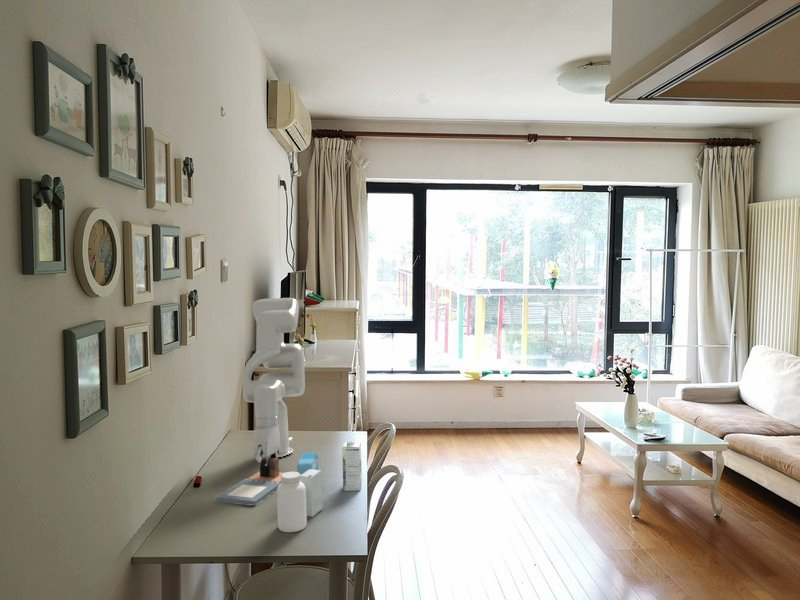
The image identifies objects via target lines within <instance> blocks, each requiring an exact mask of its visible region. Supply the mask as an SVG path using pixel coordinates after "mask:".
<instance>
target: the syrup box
mask: <svg viewBox="0 0 800 600" xmlns="http://www.w3.org/2000/svg"><path fill="white" fill-rule="evenodd" d="M341 449H342V486H343V487H342V490H343V492H354V491H362V484H363V479H362V478H363V477H362V474H363V473H362V442H360V441H346V442H343V445H342V448H341Z"/></svg>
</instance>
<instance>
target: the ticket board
mask: <svg viewBox="0 0 800 600" xmlns="http://www.w3.org/2000/svg"><path fill="white" fill-rule="evenodd" d="M280 484H281V482H273V481H263V480H253V479H248V478H243V479H242V480H240V481H239V482H237V483H236V484H234V485H232V486H231V487H230V488H228V489H226V490H225V491H223V492H222V493H220V494H218V495H217V496H216V497H215V499H216V502H217V503H223V504H233V503H239V504H238V505H242V504H253V505H256V504H257V503H259V502H260V501H261V500H263V499H264V498H266V497H267V496H268V495H270V494H271V493H272V492H274V491H275V490H277V488H278V486H279V485H280ZM275 492H276V491H275ZM275 492H274V493H275ZM271 495H272V494H271ZM271 495H270V496H271ZM267 498H268V497H267ZM267 498H266V499H267ZM263 501H264V500H263ZM241 503H242V504H241ZM259 504H260V503H259Z"/></svg>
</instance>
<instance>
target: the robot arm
mask: <svg viewBox="0 0 800 600" xmlns="http://www.w3.org/2000/svg"><path fill="white" fill-rule="evenodd" d="M299 312H300V307H299V302H298V301H297V299H296V298H293V297H282V298H281V297H280V298H277V297H276V298H275V297H274V298H262V299H257V300H255V301H254V302H253V304H252V313H253V317H254V319H255V322H256V333H255V334H256V340H255V341H256V342H255V343H256V346H255V347H256V348H255V350H256V351H255V353H254V354H253V355H252V356H251V358H250V359H248V362H247V363H246V365H245V366H244V370H243V374H242V396H243V397H242V398H243V399H244V400H245V402H247V403H254V417H255V419H254V420H255V429H254V434H253V435H254V437H253V438H254V439H253V455H254V457H255V462H257V463H258V466H259V471H260V475H261V477H270V472H269V465H268V459H269V457H270V458H278V457H281V456H286V455H289V454H291V453H292V454H293V453H294V448H293V447H291V446H290V444H291V443H292V442H294V438H293V437H292V436H290V437H289V421H288V420H289V419H288V418H289V417H288V407H287V405H286V403H285V402H284V400H283V398H288V397H290V398H292V397H300V396H302V395H303V394H304V393H305V389H306V378H305V377H306V376H305V373H306V371H305V355H304V354H305V353H304V349H303V347H302V345H300V344H299V343H285V341H284V340H285V339H284V337H285V336H284V335H285V333H287V334H288V333H295V332H296V330H297V328H298V322H299ZM260 365H263V367H264V368H266V369H267V370H268V369H269V370H275V369H277V370H278V369H279V370H281V369H291V370H292V371H275V372H267V373H264V374H262V375H261V376H260V377H259V379H258V380H257V379H256V380H252V375H253V373H254V371H255V370H256V369H257V368H258V367H259V366H260ZM292 454H291V455H292ZM289 456H290V455H289ZM286 457H287V456H286ZM263 458H265V461H264V460H263ZM278 459H279V458H278Z"/></svg>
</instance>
